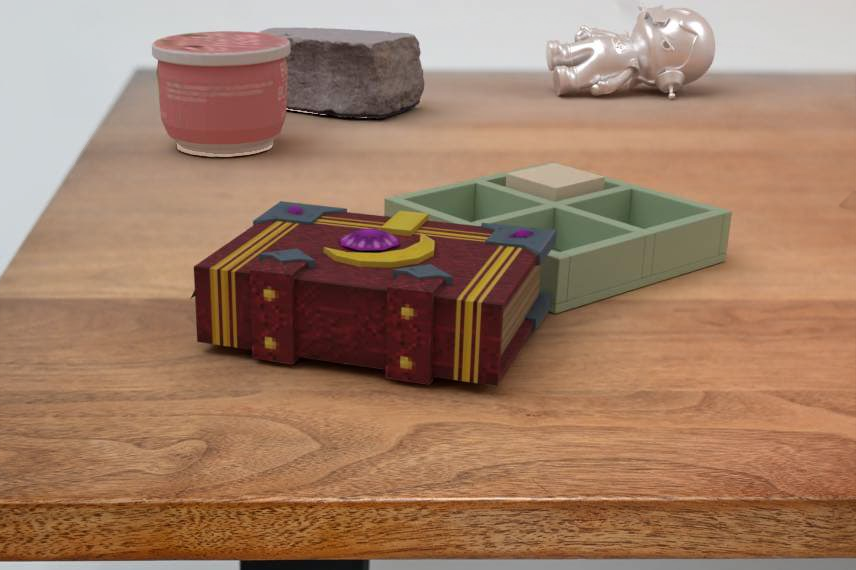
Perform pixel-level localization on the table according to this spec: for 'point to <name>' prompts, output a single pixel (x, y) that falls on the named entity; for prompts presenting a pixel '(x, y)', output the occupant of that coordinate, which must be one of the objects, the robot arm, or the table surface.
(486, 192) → the grid
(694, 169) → the table surface
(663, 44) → the figurine
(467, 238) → the decorative book
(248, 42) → the container
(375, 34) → the decorative stone
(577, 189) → the block
